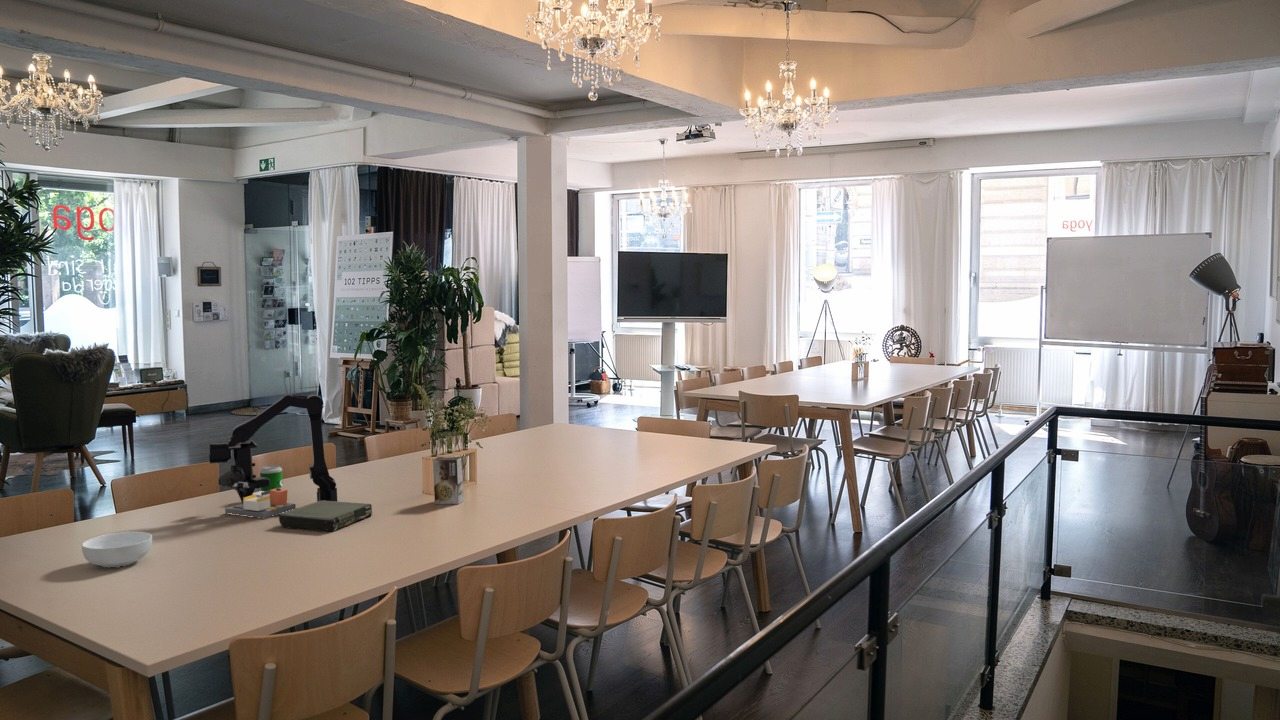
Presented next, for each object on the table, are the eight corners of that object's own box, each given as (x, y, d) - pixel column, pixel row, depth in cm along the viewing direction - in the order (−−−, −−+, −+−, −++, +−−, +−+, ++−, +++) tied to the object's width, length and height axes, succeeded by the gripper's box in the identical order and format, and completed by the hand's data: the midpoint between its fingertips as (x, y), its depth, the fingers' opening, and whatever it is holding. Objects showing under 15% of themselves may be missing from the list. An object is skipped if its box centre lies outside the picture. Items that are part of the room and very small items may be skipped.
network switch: (339, 534, 274) (339, 518, 273) (273, 531, 279) (272, 515, 278) (376, 515, 297) (376, 501, 296) (314, 513, 301) (313, 499, 301)
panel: (295, 509, 305) (295, 502, 305) (263, 519, 293) (263, 511, 292) (258, 505, 313) (258, 498, 313) (225, 514, 300) (225, 506, 300)
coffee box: (464, 500, 316) (462, 456, 315) (458, 504, 310) (457, 459, 308) (439, 499, 317) (438, 456, 316) (433, 504, 310) (432, 459, 309)
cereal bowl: (74, 576, 234) (72, 550, 234) (94, 558, 250) (92, 534, 250) (144, 569, 239) (143, 544, 239) (159, 552, 255) (158, 529, 255)
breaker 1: (274, 500, 309) (273, 489, 308) (262, 503, 304) (262, 492, 304) (260, 499, 312) (259, 488, 311) (248, 502, 307) (248, 490, 307)
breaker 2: (270, 507, 299) (269, 496, 298) (258, 510, 294) (257, 499, 294) (255, 505, 301) (255, 494, 301) (243, 509, 297) (243, 497, 297)
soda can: (278, 501, 318) (276, 468, 318) (257, 501, 319) (256, 469, 318) (286, 496, 326) (285, 464, 325) (266, 496, 326) (265, 465, 325)
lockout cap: (286, 503, 306) (287, 488, 305) (277, 506, 302) (278, 490, 301) (278, 501, 307) (279, 486, 306) (269, 503, 304) (270, 488, 303)
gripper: (203, 463, 296) (206, 508, 297) (242, 467, 288) (245, 513, 289) (231, 457, 306) (233, 501, 307) (270, 461, 298) (272, 506, 299)
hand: (245, 505), depth 300 cm, fingers closed
